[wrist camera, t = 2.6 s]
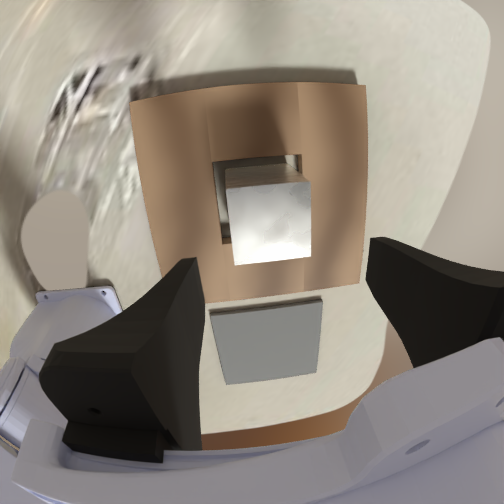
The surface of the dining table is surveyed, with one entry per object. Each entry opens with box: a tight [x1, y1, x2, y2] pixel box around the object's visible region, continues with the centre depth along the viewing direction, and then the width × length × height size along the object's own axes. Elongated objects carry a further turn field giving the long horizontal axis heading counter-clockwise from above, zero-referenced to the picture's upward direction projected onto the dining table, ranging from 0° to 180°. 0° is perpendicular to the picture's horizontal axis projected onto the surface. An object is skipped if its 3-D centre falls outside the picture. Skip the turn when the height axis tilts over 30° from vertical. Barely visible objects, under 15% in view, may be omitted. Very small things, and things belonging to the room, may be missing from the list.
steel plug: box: [225, 163, 311, 265], centre depth 18 cm, size 4×4×6 cm
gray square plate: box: [210, 299, 323, 385], centre depth 27 cm, size 10×10×1 cm
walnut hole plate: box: [129, 82, 368, 303], centre depth 20 cm, size 16×16×1 cm
